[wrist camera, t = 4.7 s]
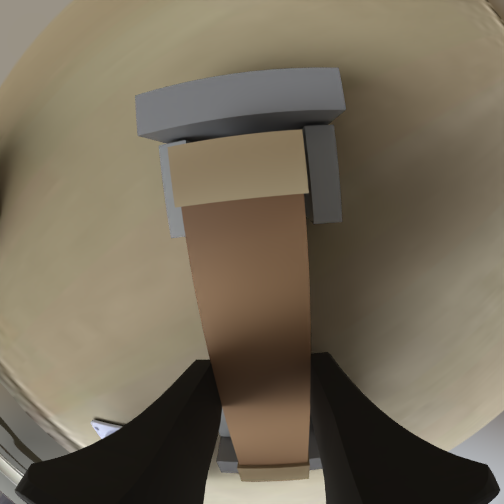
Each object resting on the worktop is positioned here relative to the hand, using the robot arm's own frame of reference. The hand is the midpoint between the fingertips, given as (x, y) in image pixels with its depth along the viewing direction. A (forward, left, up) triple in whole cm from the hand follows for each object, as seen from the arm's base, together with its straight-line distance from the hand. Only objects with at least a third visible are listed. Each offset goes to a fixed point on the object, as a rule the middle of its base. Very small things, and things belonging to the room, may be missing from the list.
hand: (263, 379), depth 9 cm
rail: (0, 0, -5) cm, 5 cm away
